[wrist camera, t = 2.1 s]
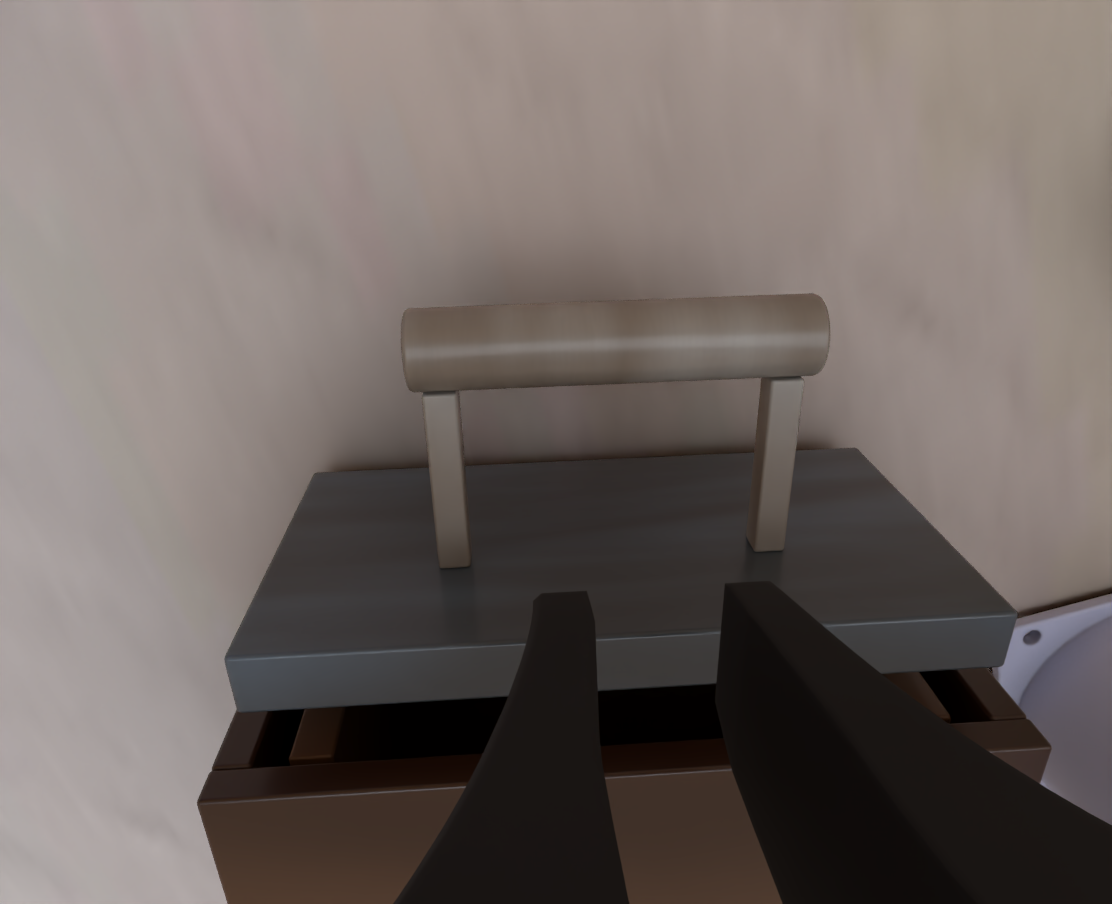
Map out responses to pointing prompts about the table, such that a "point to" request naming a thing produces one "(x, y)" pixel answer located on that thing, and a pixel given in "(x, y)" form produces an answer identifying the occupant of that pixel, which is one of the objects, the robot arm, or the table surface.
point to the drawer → (592, 543)
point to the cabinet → (438, 782)
